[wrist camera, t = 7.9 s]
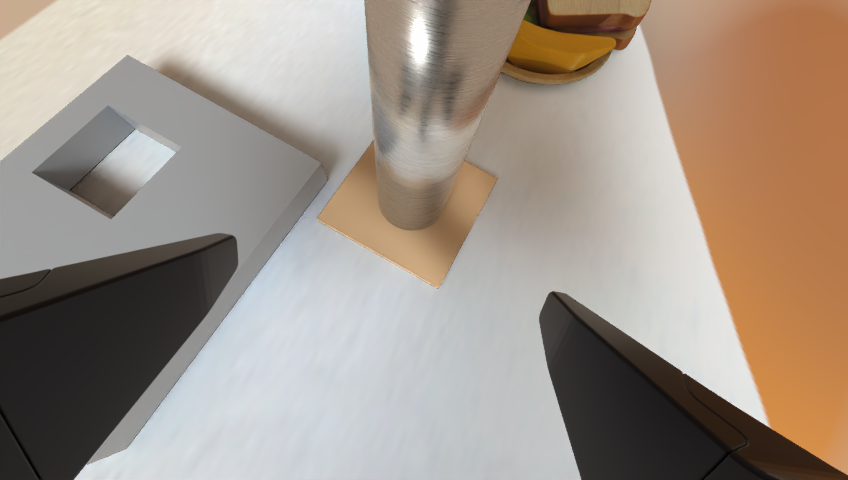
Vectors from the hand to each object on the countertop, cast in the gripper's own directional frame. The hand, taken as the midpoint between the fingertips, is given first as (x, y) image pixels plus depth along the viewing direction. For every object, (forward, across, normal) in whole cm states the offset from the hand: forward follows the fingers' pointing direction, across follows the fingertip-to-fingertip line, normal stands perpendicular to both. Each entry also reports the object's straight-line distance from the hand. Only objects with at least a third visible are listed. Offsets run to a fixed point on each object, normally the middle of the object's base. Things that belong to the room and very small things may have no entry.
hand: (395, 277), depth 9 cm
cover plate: (+8, +14, +5) cm, 17 cm away
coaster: (+11, 0, +2) cm, 11 cm away
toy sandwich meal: (+23, -7, -10) cm, 27 cm away
